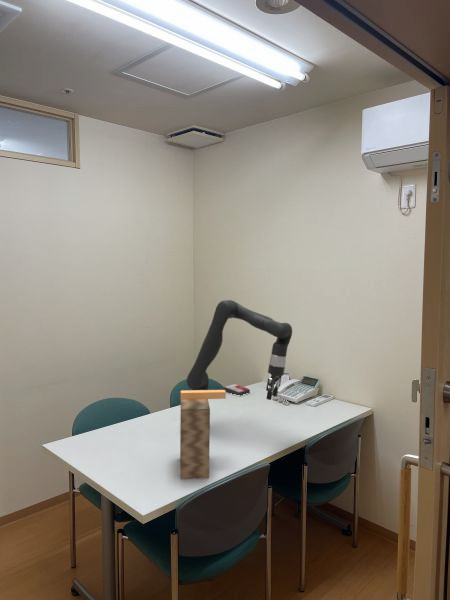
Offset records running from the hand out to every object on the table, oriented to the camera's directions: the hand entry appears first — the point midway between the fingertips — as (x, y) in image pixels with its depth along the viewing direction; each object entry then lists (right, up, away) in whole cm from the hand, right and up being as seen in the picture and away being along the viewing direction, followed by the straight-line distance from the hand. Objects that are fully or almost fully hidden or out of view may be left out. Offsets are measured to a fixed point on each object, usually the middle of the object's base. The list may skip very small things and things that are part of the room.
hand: (271, 397), depth 212 cm
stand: (-36, -28, -15) cm, 48 cm away
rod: (-32, +2, -12) cm, 34 cm away
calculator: (-14, -19, +100) cm, 102 cm away
